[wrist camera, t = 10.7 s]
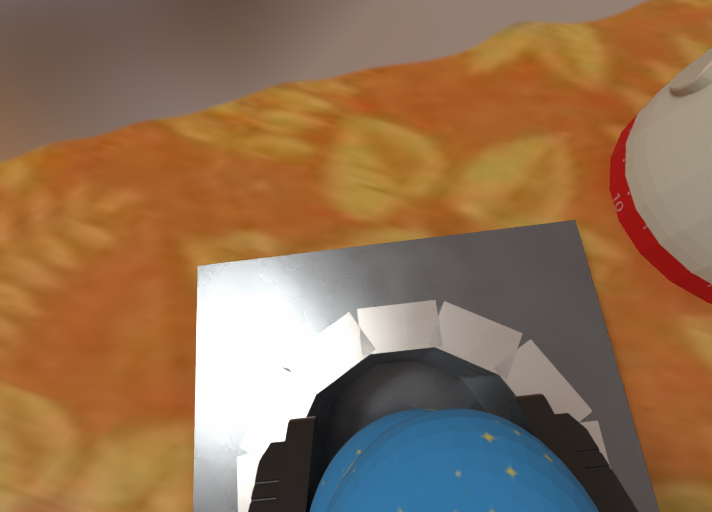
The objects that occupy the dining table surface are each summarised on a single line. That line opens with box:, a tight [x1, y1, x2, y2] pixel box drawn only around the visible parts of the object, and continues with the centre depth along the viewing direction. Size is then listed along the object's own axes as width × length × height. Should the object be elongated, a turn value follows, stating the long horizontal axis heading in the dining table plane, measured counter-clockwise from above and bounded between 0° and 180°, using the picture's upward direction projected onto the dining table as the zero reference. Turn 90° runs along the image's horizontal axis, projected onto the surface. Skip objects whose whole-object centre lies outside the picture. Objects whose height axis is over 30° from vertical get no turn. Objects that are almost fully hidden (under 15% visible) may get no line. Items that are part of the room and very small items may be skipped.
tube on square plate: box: [193, 220, 659, 512], centre depth 16 cm, size 20×20×8 cm
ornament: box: [310, 408, 599, 512], centre depth 11 cm, size 5×5×15 cm
